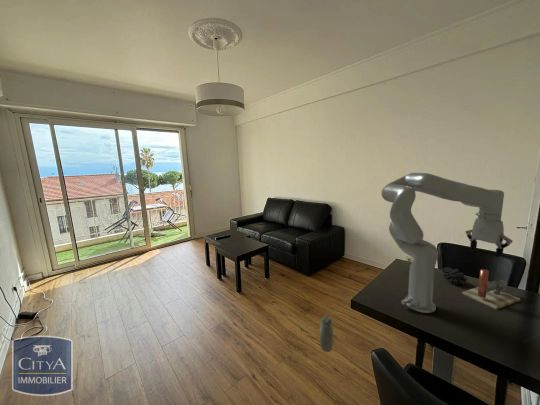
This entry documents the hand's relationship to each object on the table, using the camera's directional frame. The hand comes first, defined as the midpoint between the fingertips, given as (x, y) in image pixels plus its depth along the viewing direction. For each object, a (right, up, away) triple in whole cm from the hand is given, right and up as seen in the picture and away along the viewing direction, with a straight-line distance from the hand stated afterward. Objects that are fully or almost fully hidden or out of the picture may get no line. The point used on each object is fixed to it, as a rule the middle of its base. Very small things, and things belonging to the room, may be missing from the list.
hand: (485, 252), depth 106 cm
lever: (+9, -21, +6) cm, 24 cm away
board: (+9, -24, +7) cm, 26 cm away
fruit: (+2, -17, +31) cm, 35 cm away
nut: (+13, -21, +13) cm, 28 cm away
